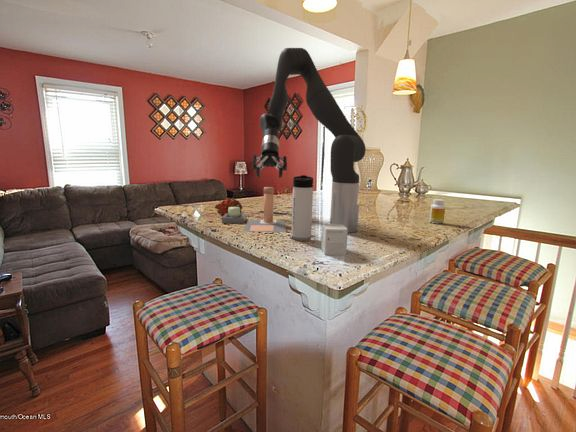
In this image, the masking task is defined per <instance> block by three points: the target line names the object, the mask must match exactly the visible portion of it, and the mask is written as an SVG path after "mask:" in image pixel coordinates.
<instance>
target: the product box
mask: <svg viewBox="0 0 576 432" xmlns="http://www.w3.org/2000/svg"><path fill="white" fill-rule="evenodd" d="M348 234H349V233H348V229H347V228H346V227H345V226H344V225H338V224H330V223H329V224H328V223H326V224H325V223H323V224H322V226H321V244H320V248H321V250H322V252H323V254H324V255H327V256H328V255H331V256H333V255H334V256H335V255H336V256H346V255H347V248H348Z"/></svg>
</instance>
